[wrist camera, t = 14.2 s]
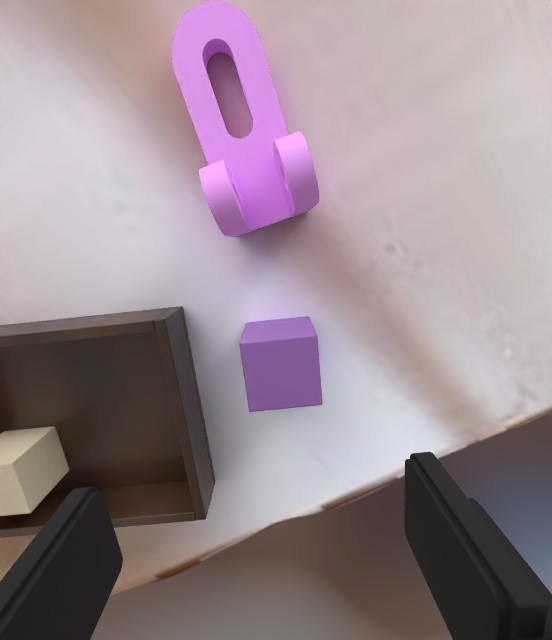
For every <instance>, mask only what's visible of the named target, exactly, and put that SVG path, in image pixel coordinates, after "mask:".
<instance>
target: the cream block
mask: <svg viewBox="0 0 552 640" xmlns="http://www.w3.org/2000/svg"><path fill="white" fill-rule="evenodd" d="M68 471H69V467H68V464H67V461H66V458H65V455H64V452H63V449H62V446H61V443H60V440H59V437H58V434H57V431H56V427H55V426H52V427H42V428H32V429H21V430H11V431H4V432H2V433H1V434H0V516H6V515H17V514H28V513H31V512H32V511H33V510H34V509H35V508H36V507H37V506H38V504H39V503H40V502H41V501H42V500H43V499H44V498H45V497H46V496H47V494H48V493H49V492H50V491H51V490H52V489H53V488H54V487H55V486H56V484H57V483H58V482H59V481H60V480H61V479H62V478H63V477H64V475H65V474H66V473H67V472H68Z"/></svg>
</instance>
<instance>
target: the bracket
mask: <svg viewBox="0 0 552 640" xmlns="http://www.w3.org/2000/svg"><path fill="white" fill-rule="evenodd" d="M219 52H222V53H226V54H228V55H229V56H230V57H231V58H232V59H233V61H234V64H235V67H236V70H237V73H238V76H239V79H240V83H241V86H242V89H243V92H244V95H245V98H246V101H247V105H248V108H249V111H250V114H251V117H252V120H253V128H252V131H251V132H250V134H249V135H248V136H246V137H244V138H234V137H232V136H231V135H230V134H229V133H228V132H227V129H226V126H225V123H224V120H223V117H222V114H221V111H220V108H219V105H218V102H217V99H216V97H215V94H214V91H213V88H212V85H211V82H210V79H209V76H208V72H207V64H208V61H209V59H210V58H211V56H212V55H214V54H216V53H219ZM171 54H172V64H173V68H174V72H175V75H176V77H177V80H178V83H179V86H180V89H181V91H182V94H183V97H184V100H185V102H186V105H187V108H188V111H189V113H190V116H191V119H192V122H193V124H194V127H195V130H196V133H197V136H198V138H199V141H200V144H201V147H202V149H203V152H204V155H205V158H206V160H207V163H208V166H206V167H203V168H201V169H199V176H200V180H201V184H202V187H203V190H204V193H205V196H206V199H207V202H208V204H209V207H210V209H211V212H212V214H213V216H214V218H215V220H216V222H217V224H218V226H219V228H220V230H221V231H222V233H223V234H224V235H225V236H231V237H238V236H241V235H244V234H246V233H249V232H252V231H255V230H258V229H260V228H263V227H266V226H269V225H272V224H274V223H277V222H280V221H283V220H286V219H288V218H291V217H294V216H297V215H300V214H303V213H305V212H308V211H309V210H311V209H312V208H313V207H314V206H315V205H316V204H317V203H318V202H319V191H318V184H317V179H316V174H315V170H314V165H313V162H312V158H311V155H310V152H309V149H308V146H307V143H306V141H305V139H304V136H303V135H302V133H301V132H300V131H298V132H296V133H293V134H290V135H288V131H287V128H286V124H285V121H284V118H283V114H282V111H281V107H280V104H279V101H278V97H277V94H276V90H275V87H274V83H273V80H272V77H271V73H270V70H269V66H268V63H267V60H266V56H265V53H264V49H263V46H262V43H261V39H260V36H259V33H258V31H257V29H256V27H255V25H254V24H253V22H252V21H251V19H250V18H249V17H248V16H247V15H246V14H245V13H244V12H243V11H242V10H241V9H239V8H238V7H236V6H234V5H233V4H230V3H228V2H224V1H218V0H212V1H206V2H202V3H200V4H198V5H196V6H194V7H193V8H191V9H190V10H189V11H188V12H187V13H186V14H185V15H184V16H183V17H182V19H181V20H180V22H179V23H178V26H177V28H176V30H175V33H174V36H173V41H172V50H171Z"/></svg>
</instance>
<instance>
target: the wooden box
mask: <svg viewBox="0 0 552 640" xmlns="http://www.w3.org/2000/svg"><path fill="white" fill-rule="evenodd" d="M52 426H55V427H56V431H57V434H58V437H59V440H60V443H61V446H62V449H63V452H64V455H65V458H66V461H67V464H68V467H69V471H68V472H67V473H66V474H65V475H64V477H63V478H62V479H61V480H60V481H59V482H58V483H57V484H56V486H55V487H54V488H53V489H52V490H51V491H50V492H49V493H48V494H47V496H46V497H45V498H44V499H43V500H42V501H41V502H40V503H39V504H38V506H37V507H36V508H35V509H34V510H33V511H32V512H31V513H28V514H17V515H6V516H0V538H1V537H12V536H23V535H35V534H38V533H39V532H40V530H41V529H42V528H43V526H44V525H45V524H46V523H47V521H48V520H49V519H50V517H51V516H52V515H53V514H54V512H55V511H56V510H57V509H58V507H59V506H60V505H61V503H62V502H63V501H64V500H65V498H66V497H67V496H68V495H69V493H70V492H71V491H72V490H73V489H75V488H84V487H96V488H97V489H98V491H101V492H102V493H103V495H104V498H105V501H106V505H107V508H108V511H109V514H110V518H111V521H112V524H113V527H114V528H115V527H126V526H137V525H149V524H160V523H172V522H183V521H195V520H204V519H206V517H207V513H208V509H209V505H210V501H211V497H212V493H213V489H214V485H215V476H214V471H213V466H212V460H211V455H210V450H209V444H208V439H207V434H206V428H205V423H204V418H203V412H202V407H201V402H200V396H199V391H198V386H197V381H196V375H195V370H194V365H193V359H192V354H191V349H190V343H189V338H188V333H187V327H186V322H185V317H184V311H183V307H182V306H181V307H172V308H162V309H153V310H143V311H134V312H124V313H115V314H105V315H96V316H86V317H77V318H67V319H58V320H48V321H39V322H29V323H20V324H10V325H1V326H0V434H1V433H2V432H4V431H11V430H21V429H32V428H42V427H52Z"/></svg>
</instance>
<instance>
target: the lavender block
mask: <svg viewBox="0 0 552 640" xmlns="http://www.w3.org/2000/svg"><path fill="white" fill-rule="evenodd" d="M240 351H241V358H242V365H243V372H244V378H245V385H246V392H247V399H248V406H249V411H250V412H253V411H264V410H274V409H284V408H295V407H305V406H315V405H322V392H321V379H320V365H319V352H318V339H317V334H316V332H315V330H314V328H313V325H312V323H311V321H310V318H309V317H298V318H289V319H279V320H270V321H260V322H250V323H247V324H246V327H245V329H244V332H243V335H242V338H241V341H240Z"/></svg>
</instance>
